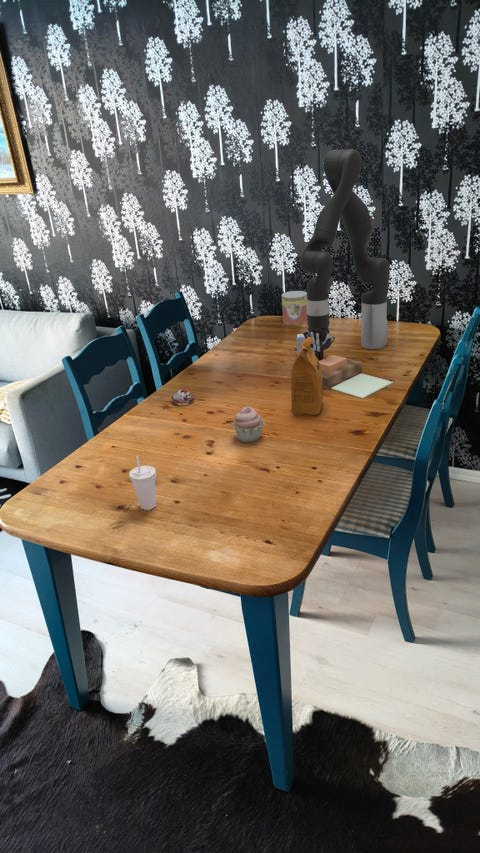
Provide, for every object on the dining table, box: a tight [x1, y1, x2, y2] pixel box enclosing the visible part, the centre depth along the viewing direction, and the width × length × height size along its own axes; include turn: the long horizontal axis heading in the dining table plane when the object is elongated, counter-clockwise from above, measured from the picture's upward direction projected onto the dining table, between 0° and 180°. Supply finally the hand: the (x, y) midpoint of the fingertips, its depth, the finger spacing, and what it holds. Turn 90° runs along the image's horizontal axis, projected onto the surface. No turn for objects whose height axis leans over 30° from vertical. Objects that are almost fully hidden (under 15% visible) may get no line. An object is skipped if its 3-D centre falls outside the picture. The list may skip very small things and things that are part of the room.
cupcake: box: [231, 406, 265, 444], centre depth 176 cm, size 9×9×10 cm
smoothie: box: [128, 455, 157, 511], centre depth 147 cm, size 6×6×14 cm
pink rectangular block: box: [319, 354, 348, 372], centre depth 212 cm, size 9×6×2 cm, turn 132°
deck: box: [322, 358, 363, 391], centre depth 213 cm, size 18×12×4 cm, turn 132°
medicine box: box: [296, 333, 315, 357], centre depth 232 cm, size 8×4×9 cm, turn 84°
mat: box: [330, 372, 394, 400], centre depth 205 cm, size 16×13×1 cm
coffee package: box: [290, 337, 324, 416], centre depth 188 cm, size 10×12×22 cm
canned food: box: [281, 290, 307, 325], centre depth 274 cm, size 11×11×12 cm
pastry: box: [171, 387, 195, 407], centre depth 205 cm, size 8×8×5 cm
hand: (319, 360), depth 216 cm, fingers closed
